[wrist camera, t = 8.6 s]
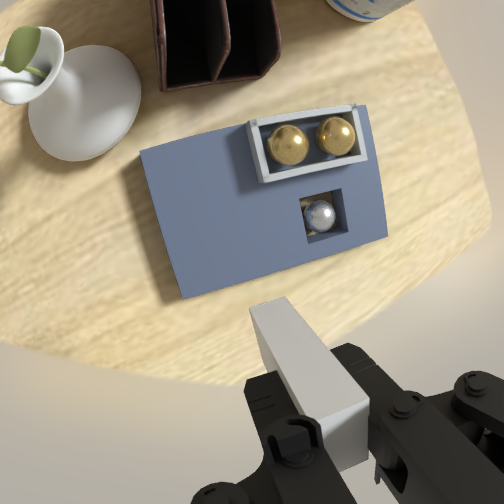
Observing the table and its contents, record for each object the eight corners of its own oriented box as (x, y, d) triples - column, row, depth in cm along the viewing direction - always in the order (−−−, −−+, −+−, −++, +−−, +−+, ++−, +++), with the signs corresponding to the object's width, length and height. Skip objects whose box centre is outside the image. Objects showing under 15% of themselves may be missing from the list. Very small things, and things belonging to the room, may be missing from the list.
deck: (182, 290, 32) (183, 308, 28) (142, 152, 28) (136, 149, 24) (375, 231, 35) (398, 240, 31) (353, 108, 31) (376, 102, 27)
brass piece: (267, 169, 28) (278, 170, 25) (257, 131, 27) (268, 126, 24) (304, 161, 29) (319, 161, 26) (295, 123, 28) (310, 118, 25)
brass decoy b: (313, 159, 29) (330, 158, 26) (305, 122, 28) (321, 116, 25) (346, 152, 30) (366, 151, 26) (339, 116, 29) (357, 112, 25)
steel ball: (300, 235, 33) (321, 238, 30) (293, 204, 32) (315, 205, 29) (323, 225, 34) (344, 228, 31) (317, 196, 33) (339, 196, 30)
